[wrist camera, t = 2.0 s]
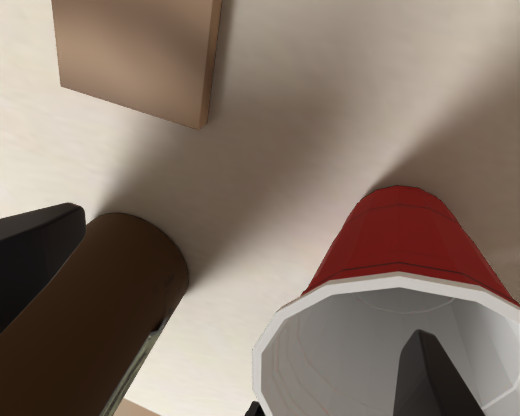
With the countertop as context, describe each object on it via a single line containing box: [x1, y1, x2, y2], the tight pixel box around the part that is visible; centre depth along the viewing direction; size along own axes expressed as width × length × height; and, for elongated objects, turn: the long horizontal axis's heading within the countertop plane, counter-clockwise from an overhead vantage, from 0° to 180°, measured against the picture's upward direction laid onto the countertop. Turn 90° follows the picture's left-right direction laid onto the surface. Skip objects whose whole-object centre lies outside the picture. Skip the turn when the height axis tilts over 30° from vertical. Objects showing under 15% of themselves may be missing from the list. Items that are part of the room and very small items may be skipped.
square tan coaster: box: [51, 0, 222, 130], centre depth 20 cm, size 9×9×1 cm
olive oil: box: [0, 213, 188, 416], centre depth 20 cm, size 11×11×25 cm
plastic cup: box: [252, 185, 520, 416], centre depth 17 cm, size 11×11×12 cm
